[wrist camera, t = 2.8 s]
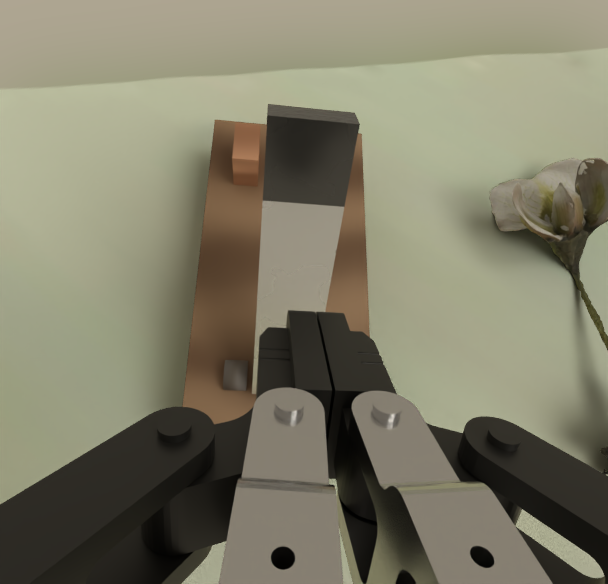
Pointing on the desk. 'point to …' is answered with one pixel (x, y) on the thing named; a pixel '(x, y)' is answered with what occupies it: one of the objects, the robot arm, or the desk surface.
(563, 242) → the artificial flower
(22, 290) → the desk surface
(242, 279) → the lever base
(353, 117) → the lever
